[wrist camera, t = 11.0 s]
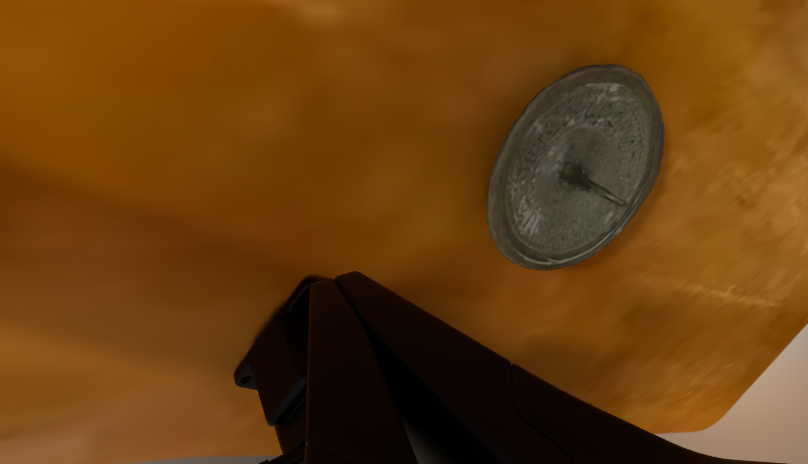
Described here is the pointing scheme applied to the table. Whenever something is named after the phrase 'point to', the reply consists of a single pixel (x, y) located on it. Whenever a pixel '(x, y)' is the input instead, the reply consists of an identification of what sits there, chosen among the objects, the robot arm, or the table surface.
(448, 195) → the table surface
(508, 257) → the lid
